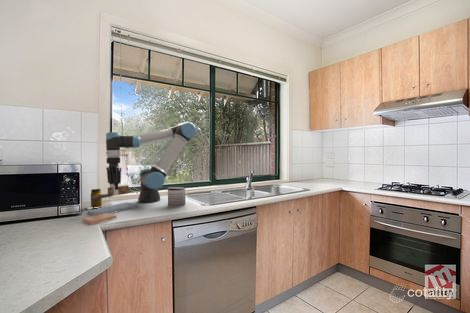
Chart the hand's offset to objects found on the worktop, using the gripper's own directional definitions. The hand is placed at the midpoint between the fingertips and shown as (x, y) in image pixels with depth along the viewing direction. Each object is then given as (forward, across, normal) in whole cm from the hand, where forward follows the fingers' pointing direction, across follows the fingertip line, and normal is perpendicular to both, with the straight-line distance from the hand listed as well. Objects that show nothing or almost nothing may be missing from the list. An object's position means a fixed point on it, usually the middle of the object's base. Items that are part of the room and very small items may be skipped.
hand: (114, 194), depth 141 cm
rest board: (+9, 0, -1) cm, 9 cm away
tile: (+9, +15, -10) cm, 20 cm away
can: (+9, +26, +27) cm, 39 cm away
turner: (0, 0, -2) cm, 2 cm away
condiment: (+10, -17, -4) cm, 20 cm away
